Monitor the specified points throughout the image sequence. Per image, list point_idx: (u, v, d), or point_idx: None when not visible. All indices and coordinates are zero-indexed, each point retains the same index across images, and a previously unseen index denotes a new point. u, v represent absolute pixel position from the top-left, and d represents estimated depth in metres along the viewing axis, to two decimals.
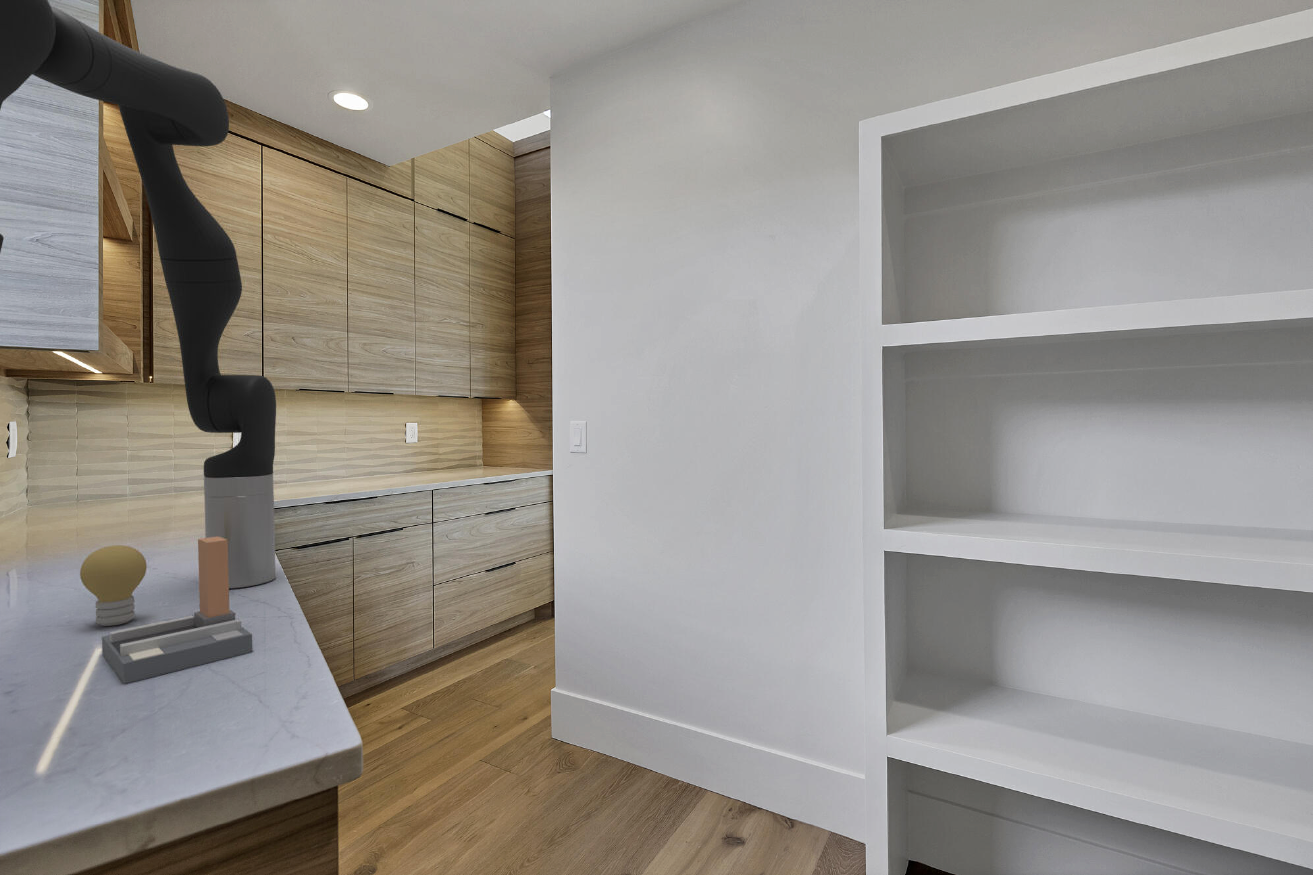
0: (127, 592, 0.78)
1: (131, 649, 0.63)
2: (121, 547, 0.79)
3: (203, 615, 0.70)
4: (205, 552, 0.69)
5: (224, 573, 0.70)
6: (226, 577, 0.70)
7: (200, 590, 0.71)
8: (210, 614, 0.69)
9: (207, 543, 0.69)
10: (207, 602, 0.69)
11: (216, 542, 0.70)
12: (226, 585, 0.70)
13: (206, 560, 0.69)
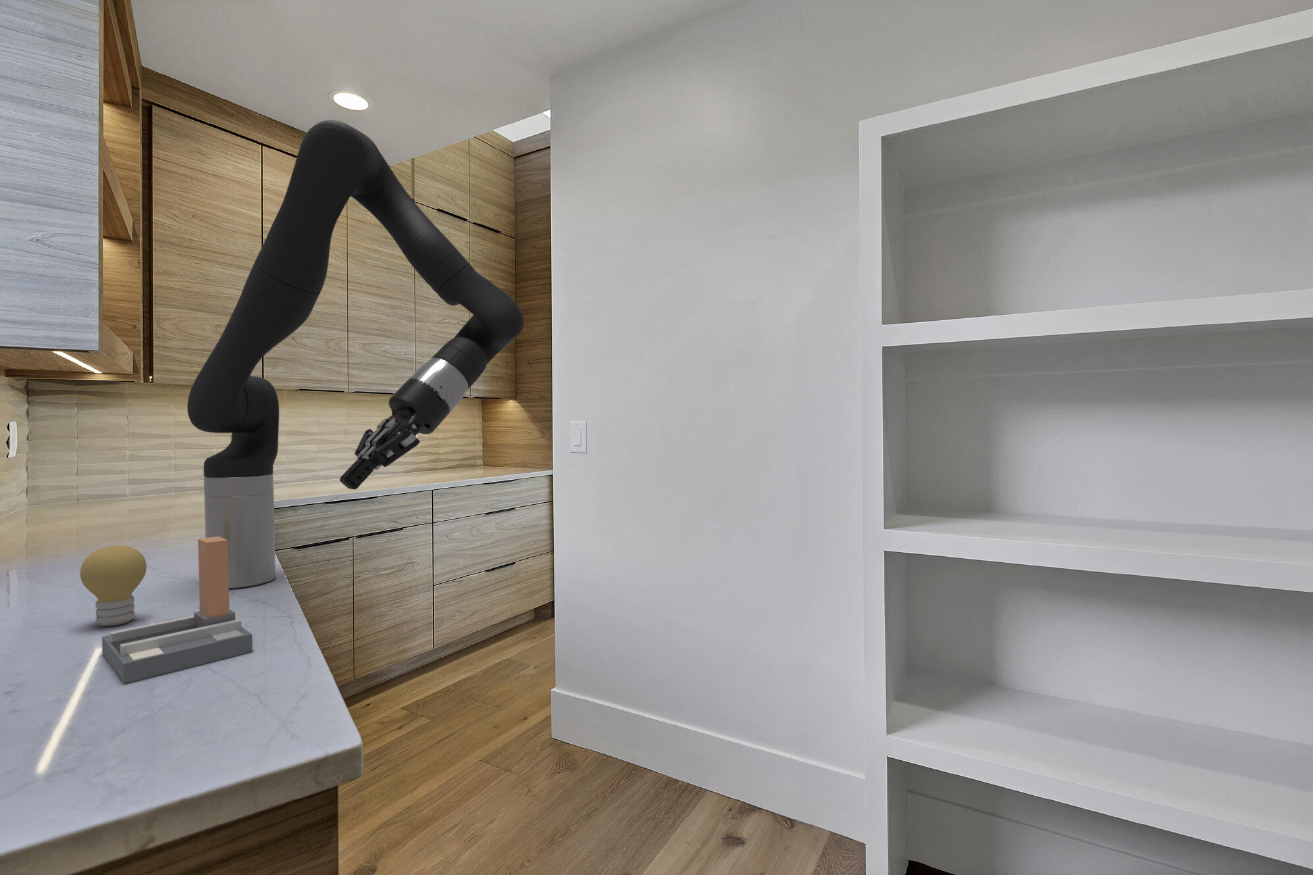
0: (127, 592, 0.78)
1: (131, 649, 0.63)
2: (121, 547, 0.79)
3: (203, 615, 0.70)
4: (205, 552, 0.69)
5: (224, 573, 0.70)
6: (226, 577, 0.70)
7: (200, 590, 0.71)
8: (210, 614, 0.69)
9: (207, 543, 0.69)
10: (207, 602, 0.69)
11: (216, 542, 0.70)
12: (226, 585, 0.70)
13: (206, 560, 0.69)
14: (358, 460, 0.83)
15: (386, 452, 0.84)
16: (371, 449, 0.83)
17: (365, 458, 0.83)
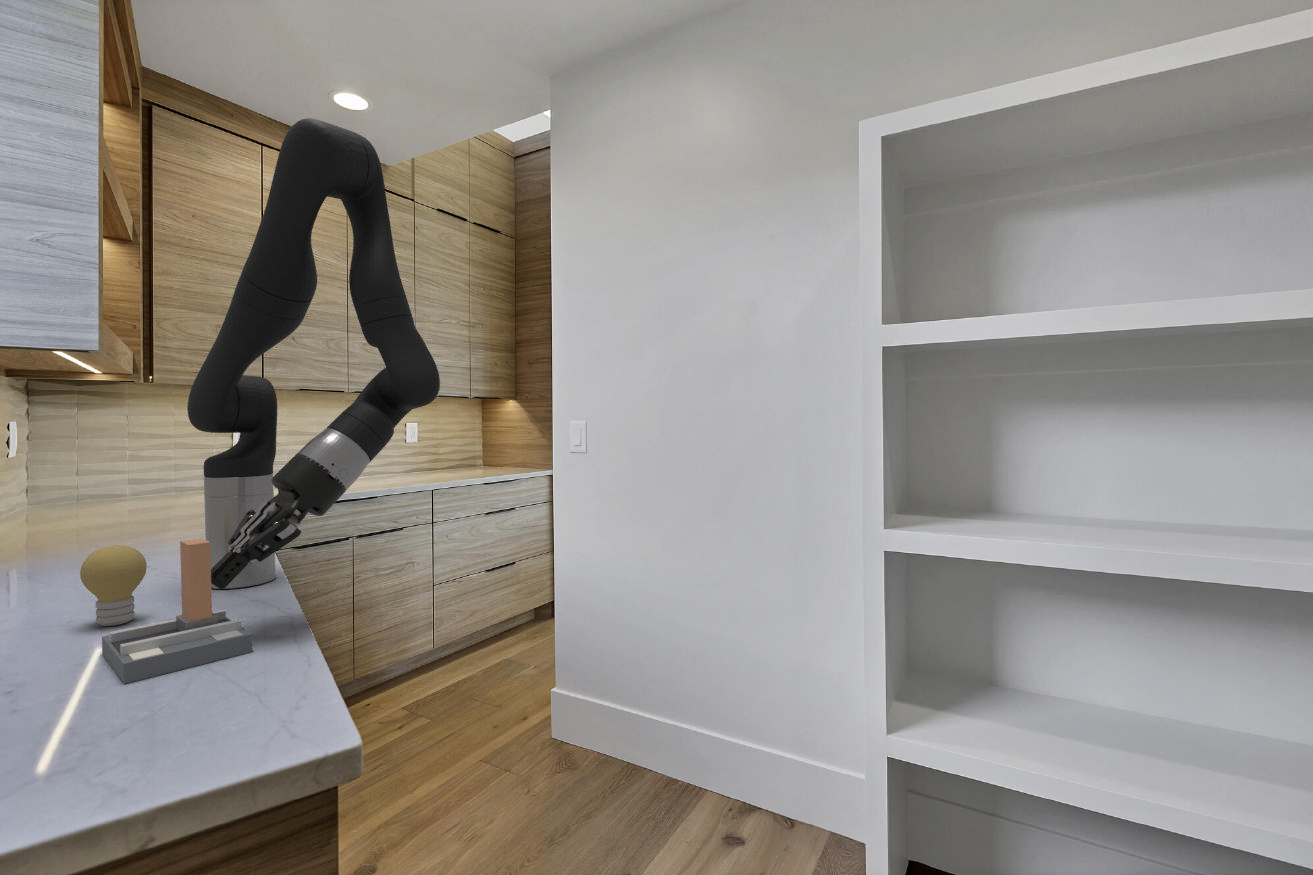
0: (127, 592, 0.78)
1: (131, 649, 0.63)
2: (121, 547, 0.79)
3: (185, 619, 0.69)
4: (187, 555, 0.68)
5: (206, 576, 0.69)
6: (209, 580, 0.69)
7: (182, 593, 0.70)
8: (192, 618, 0.68)
9: (189, 545, 0.68)
10: (189, 605, 0.68)
11: (198, 544, 0.68)
12: (209, 588, 0.69)
13: (188, 563, 0.68)
14: (228, 553, 0.72)
15: (263, 543, 0.73)
16: (244, 540, 0.72)
17: (236, 552, 0.72)
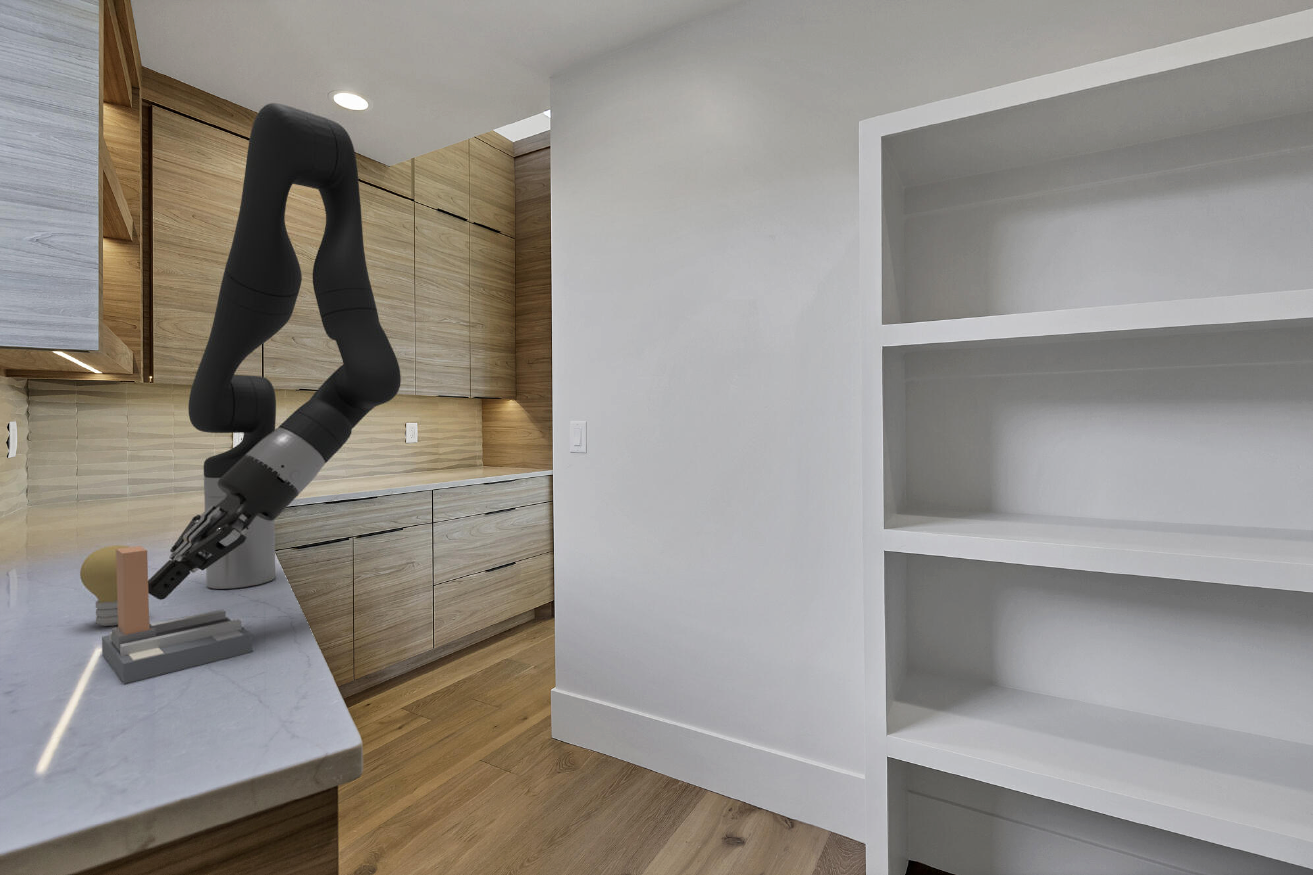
0: None
1: (131, 649, 0.63)
2: (121, 547, 0.79)
3: (120, 632, 0.64)
4: (121, 564, 0.64)
5: (143, 586, 0.65)
6: (145, 590, 0.65)
7: (118, 604, 0.66)
8: (127, 631, 0.64)
9: (123, 554, 0.64)
10: (123, 618, 0.64)
11: (134, 553, 0.64)
12: (145, 599, 0.65)
13: (122, 572, 0.64)
14: (169, 562, 0.68)
15: (206, 550, 0.69)
16: (186, 548, 0.68)
17: (176, 560, 0.67)
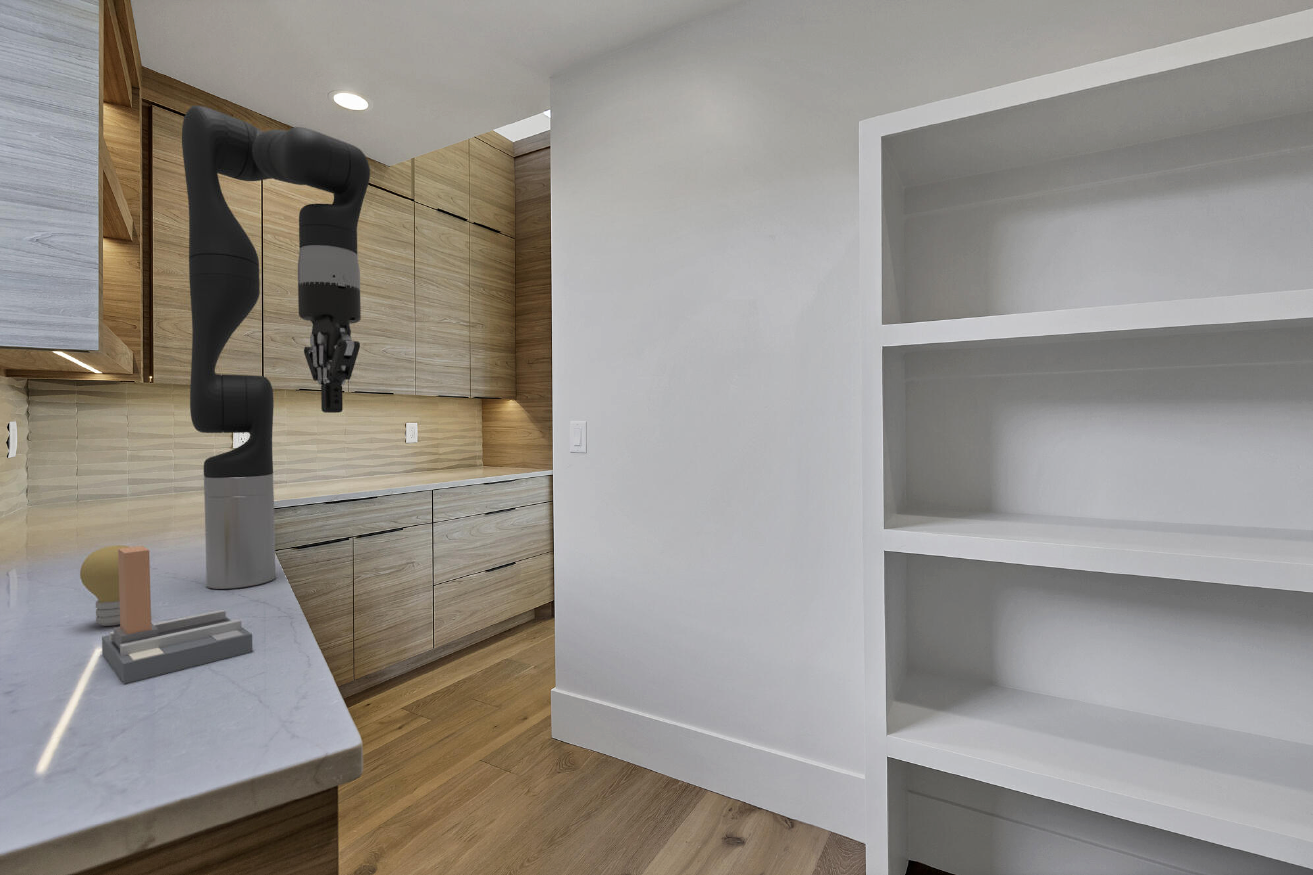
0: None
1: (131, 649, 0.63)
2: (121, 547, 0.79)
3: (122, 631, 0.65)
4: (123, 563, 0.64)
5: (145, 586, 0.65)
6: (147, 590, 0.65)
7: (120, 604, 0.66)
8: (129, 630, 0.64)
9: (125, 554, 0.64)
10: (125, 617, 0.64)
11: (136, 552, 0.64)
12: (147, 599, 0.65)
13: (124, 572, 0.64)
14: (323, 386, 0.84)
15: (339, 365, 0.83)
16: (325, 372, 0.83)
17: (327, 383, 0.83)
